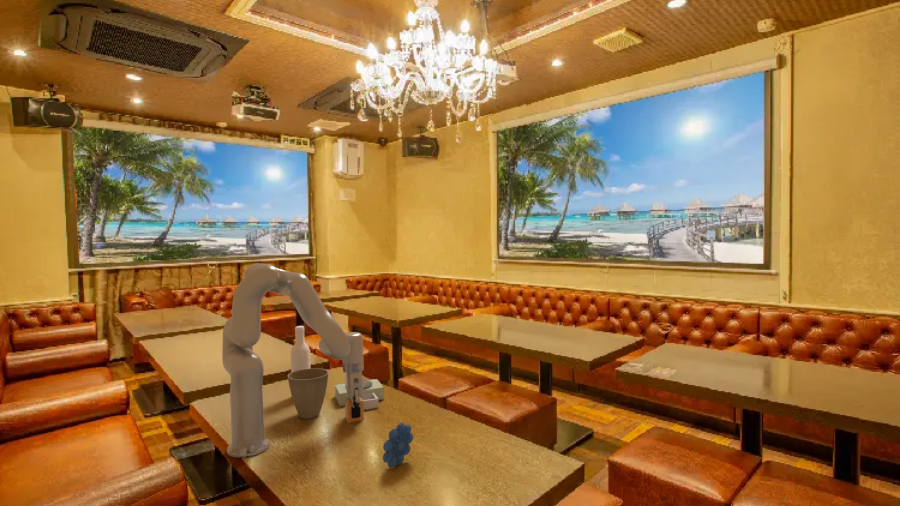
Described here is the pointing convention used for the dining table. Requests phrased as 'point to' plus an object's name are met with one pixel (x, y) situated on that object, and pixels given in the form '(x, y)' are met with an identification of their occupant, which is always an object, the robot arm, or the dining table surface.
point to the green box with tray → (371, 393)
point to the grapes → (397, 444)
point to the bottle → (300, 351)
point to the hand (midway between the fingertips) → (354, 414)
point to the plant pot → (308, 390)
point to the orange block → (348, 410)
